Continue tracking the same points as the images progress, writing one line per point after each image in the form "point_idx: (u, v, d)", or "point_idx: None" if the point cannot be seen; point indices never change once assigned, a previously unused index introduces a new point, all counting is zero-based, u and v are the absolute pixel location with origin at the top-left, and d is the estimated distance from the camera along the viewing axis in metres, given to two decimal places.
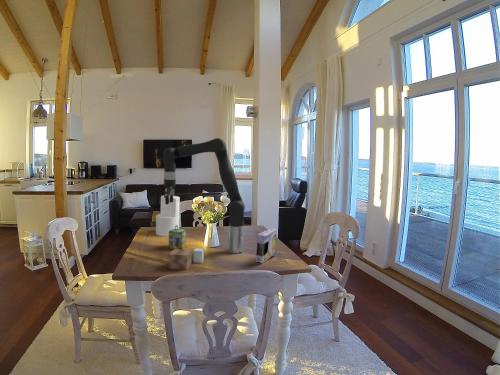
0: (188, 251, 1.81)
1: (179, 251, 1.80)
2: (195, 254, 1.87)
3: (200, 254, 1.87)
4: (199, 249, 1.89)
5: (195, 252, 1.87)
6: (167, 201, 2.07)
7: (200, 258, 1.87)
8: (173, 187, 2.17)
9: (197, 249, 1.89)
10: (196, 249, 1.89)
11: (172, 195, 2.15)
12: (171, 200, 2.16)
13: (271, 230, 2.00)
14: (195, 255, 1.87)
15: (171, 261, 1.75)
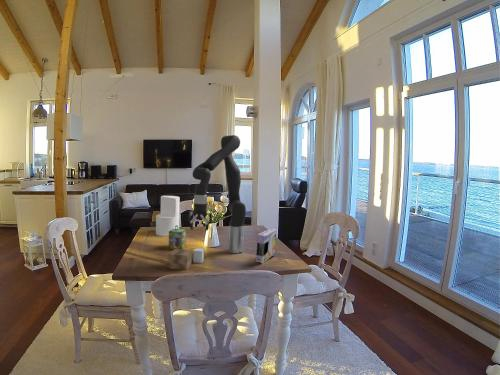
0: (188, 251, 1.81)
1: (179, 251, 1.80)
2: (195, 254, 1.87)
3: (200, 254, 1.87)
4: (199, 249, 1.89)
5: (195, 252, 1.87)
6: (208, 227, 1.88)
7: (200, 258, 1.87)
8: (190, 212, 1.88)
9: (197, 249, 1.89)
10: (196, 249, 1.89)
11: None
12: (192, 227, 1.88)
13: (271, 230, 2.00)
14: (195, 255, 1.87)
15: (171, 261, 1.75)
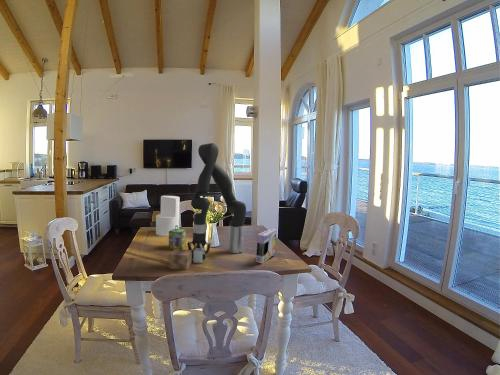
0: (188, 251, 1.81)
1: (179, 251, 1.80)
2: (195, 254, 1.87)
3: (200, 254, 1.87)
4: (199, 249, 1.90)
5: (195, 252, 1.87)
6: None
7: (200, 258, 1.87)
8: (190, 242, 1.90)
9: (197, 249, 1.89)
10: (196, 249, 1.89)
11: None
12: None
13: (271, 230, 2.00)
14: (195, 255, 1.87)
15: (171, 261, 1.75)
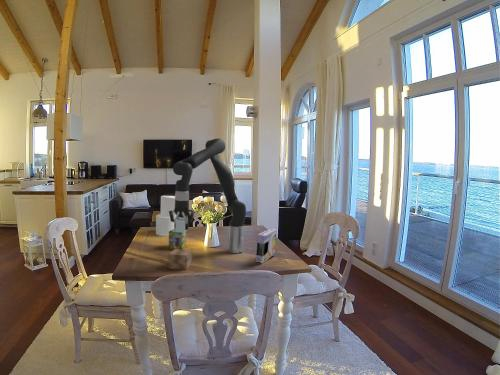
0: (188, 251, 1.81)
1: (179, 251, 1.80)
2: (177, 223, 1.75)
3: (183, 223, 1.75)
4: (182, 218, 1.78)
5: (177, 221, 1.75)
6: (188, 226, 1.78)
7: (183, 227, 1.76)
8: None
9: (180, 218, 1.78)
10: (179, 218, 1.78)
11: None
12: None
13: (271, 230, 2.00)
14: (177, 224, 1.76)
15: (171, 261, 1.75)
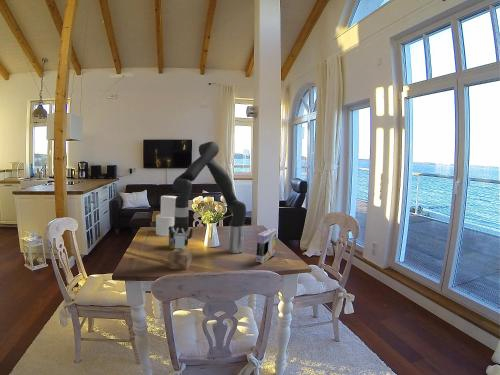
0: (188, 251, 1.81)
1: (179, 251, 1.80)
2: (177, 239, 1.76)
3: (182, 239, 1.76)
4: (181, 234, 1.79)
5: (177, 237, 1.76)
6: (187, 242, 1.79)
7: (182, 243, 1.76)
8: None
9: (179, 234, 1.79)
10: (178, 234, 1.79)
11: None
12: None
13: (271, 230, 2.00)
14: (177, 240, 1.77)
15: (171, 261, 1.75)
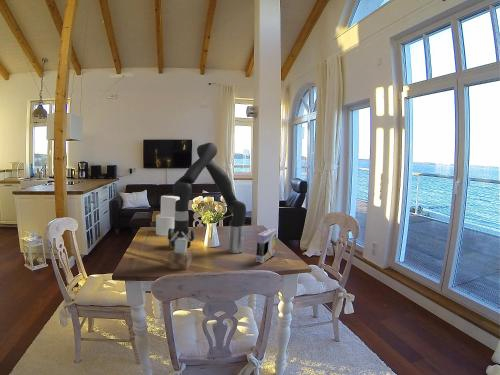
0: (188, 251, 1.81)
1: None
2: (177, 244, 1.77)
3: (182, 244, 1.77)
4: (181, 239, 1.79)
5: (177, 242, 1.77)
6: (190, 244, 1.79)
7: (182, 248, 1.77)
8: (171, 229, 1.79)
9: (179, 239, 1.79)
10: (178, 239, 1.79)
11: (174, 238, 1.80)
12: (174, 244, 1.80)
13: (271, 230, 2.00)
14: (177, 245, 1.77)
15: (171, 261, 1.75)
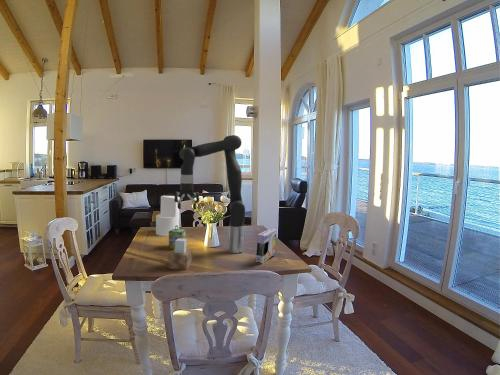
0: (188, 251, 1.81)
1: None
2: (177, 244, 1.77)
3: (182, 244, 1.77)
4: (181, 239, 1.79)
5: (177, 242, 1.77)
6: None
7: (182, 248, 1.77)
8: None
9: (179, 239, 1.79)
10: (178, 239, 1.79)
11: (180, 201, 1.92)
12: (180, 207, 1.92)
13: (271, 230, 2.00)
14: (177, 245, 1.77)
15: (171, 261, 1.75)
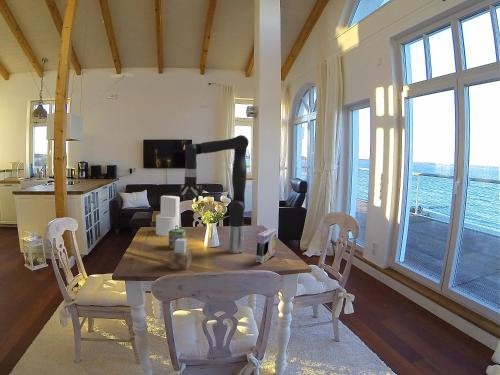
0: (188, 251, 1.81)
1: None
2: (177, 244, 1.77)
3: (182, 244, 1.77)
4: (181, 239, 1.79)
5: (177, 242, 1.77)
6: (198, 198, 2.06)
7: (182, 248, 1.77)
8: (182, 185, 2.06)
9: (179, 239, 1.79)
10: (178, 239, 1.79)
11: (184, 193, 2.07)
12: None
13: (271, 230, 2.00)
14: (177, 245, 1.77)
15: (171, 261, 1.75)
